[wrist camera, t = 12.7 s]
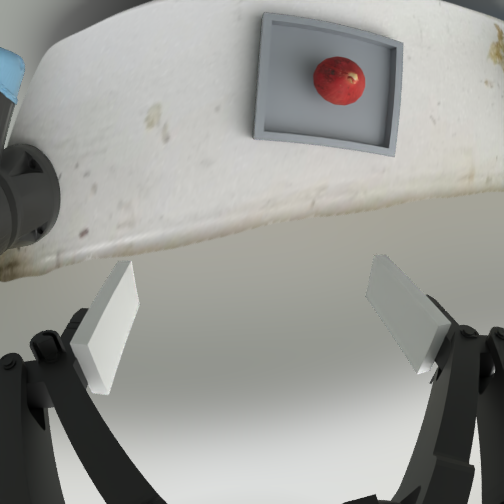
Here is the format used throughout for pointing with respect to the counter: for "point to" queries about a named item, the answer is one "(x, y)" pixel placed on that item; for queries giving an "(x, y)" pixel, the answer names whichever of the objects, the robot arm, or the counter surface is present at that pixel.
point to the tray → (306, 96)
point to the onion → (339, 80)
